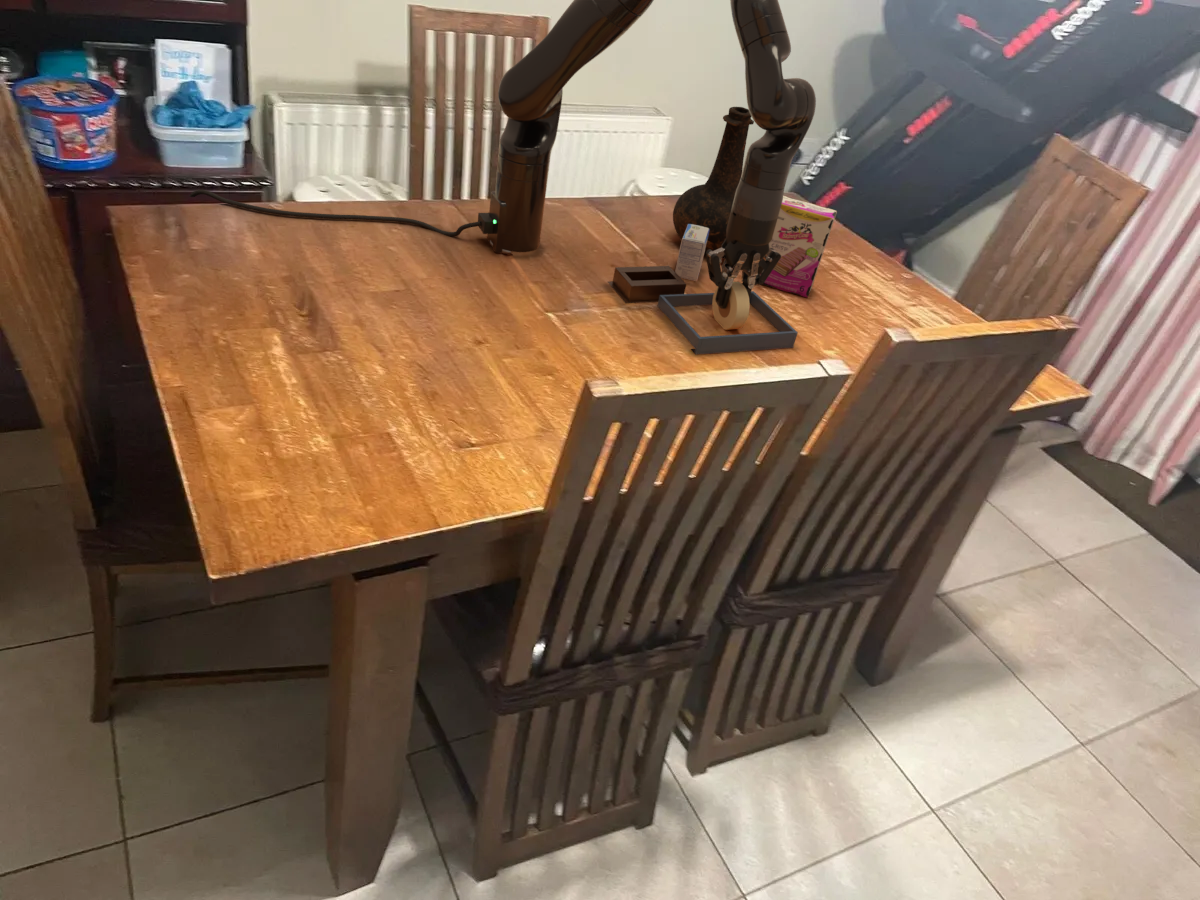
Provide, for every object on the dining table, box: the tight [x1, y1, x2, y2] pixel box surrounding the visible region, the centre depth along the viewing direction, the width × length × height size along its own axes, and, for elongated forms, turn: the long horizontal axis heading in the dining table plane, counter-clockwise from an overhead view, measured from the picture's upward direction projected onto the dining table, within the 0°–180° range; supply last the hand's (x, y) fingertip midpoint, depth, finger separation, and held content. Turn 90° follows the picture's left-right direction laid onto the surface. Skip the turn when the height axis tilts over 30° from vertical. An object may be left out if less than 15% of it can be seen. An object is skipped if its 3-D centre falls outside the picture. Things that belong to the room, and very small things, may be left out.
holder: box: [607, 265, 687, 304], centre depth 164 cm, size 8×12×4 cm
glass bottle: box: [672, 106, 755, 259], centre depth 179 cm, size 18×18×28 cm
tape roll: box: [711, 281, 751, 331], centre depth 157 cm, size 2×8×8 cm, turn 23°
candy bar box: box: [759, 195, 838, 298], centre depth 173 cm, size 11×5×16 cm, turn 71°
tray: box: [657, 290, 799, 356], centre depth 158 cm, size 19×15×3 cm
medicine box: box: [674, 224, 710, 282], centre depth 173 cm, size 8×4×9 cm, turn 168°
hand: (730, 305), depth 157 cm, fingers open, 3 cm apart
